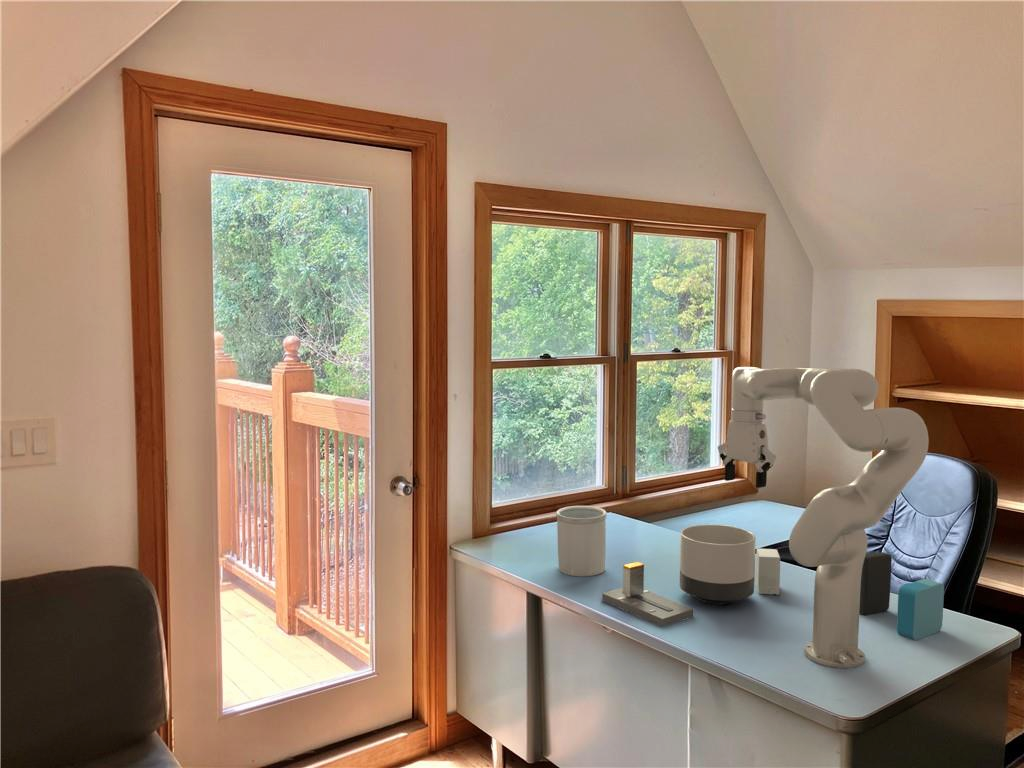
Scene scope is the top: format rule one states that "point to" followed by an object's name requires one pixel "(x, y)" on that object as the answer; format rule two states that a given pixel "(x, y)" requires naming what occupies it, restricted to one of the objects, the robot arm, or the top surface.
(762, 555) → the small box
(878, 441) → the robot arm
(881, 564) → the card reader
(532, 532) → the top surface
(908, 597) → the data package
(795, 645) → the top surface
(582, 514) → the utensil holder
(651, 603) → the console board
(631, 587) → the fader tab
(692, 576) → the planter
